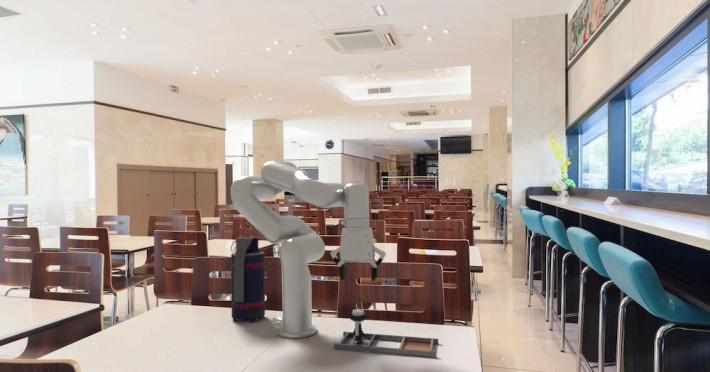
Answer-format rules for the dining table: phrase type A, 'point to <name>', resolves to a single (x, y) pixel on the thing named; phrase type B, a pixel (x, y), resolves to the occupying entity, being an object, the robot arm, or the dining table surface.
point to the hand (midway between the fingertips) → (358, 279)
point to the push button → (358, 325)
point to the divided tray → (412, 348)
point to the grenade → (247, 280)
